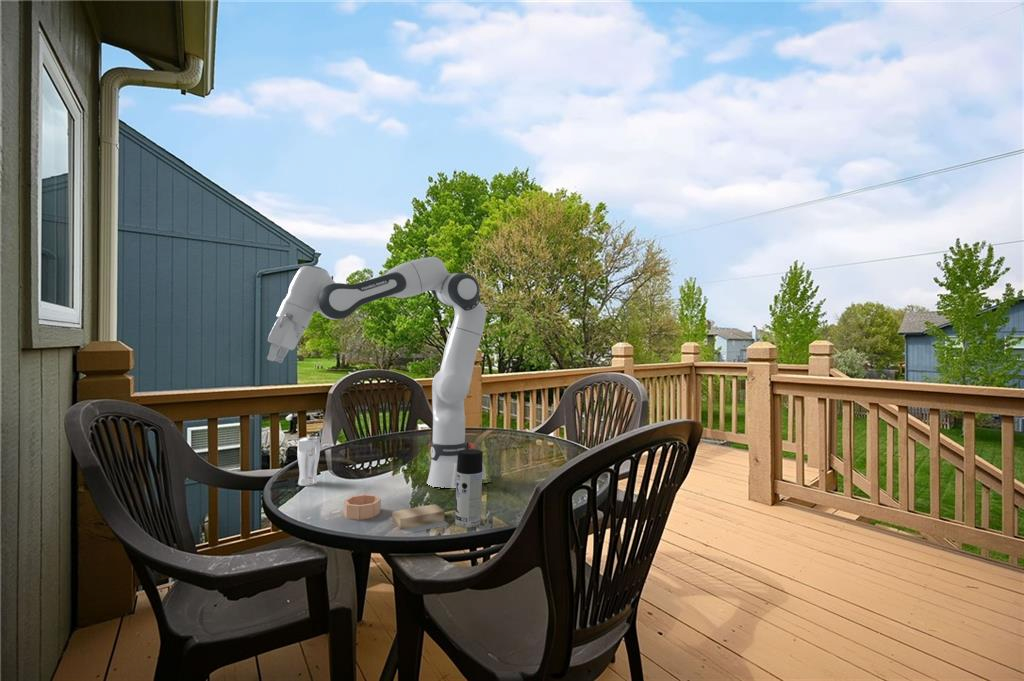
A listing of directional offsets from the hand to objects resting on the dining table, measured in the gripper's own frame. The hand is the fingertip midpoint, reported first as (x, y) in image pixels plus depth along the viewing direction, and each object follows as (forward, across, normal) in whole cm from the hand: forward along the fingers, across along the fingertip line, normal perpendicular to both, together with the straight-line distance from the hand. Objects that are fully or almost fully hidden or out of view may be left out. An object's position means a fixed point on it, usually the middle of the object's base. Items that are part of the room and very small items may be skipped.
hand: (274, 361), depth 135 cm
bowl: (+32, -10, -39) cm, 51 cm away
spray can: (+24, -22, -65) cm, 72 cm away
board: (+26, -19, -52) cm, 61 cm away
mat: (+27, -18, -53) cm, 62 cm away
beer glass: (+35, +26, -20) cm, 48 cm away
